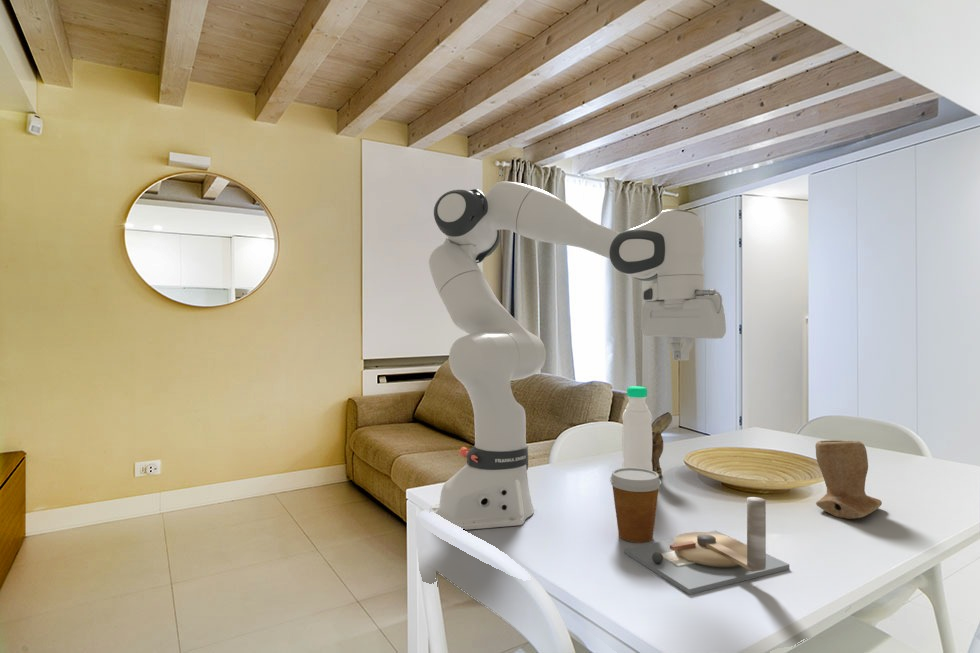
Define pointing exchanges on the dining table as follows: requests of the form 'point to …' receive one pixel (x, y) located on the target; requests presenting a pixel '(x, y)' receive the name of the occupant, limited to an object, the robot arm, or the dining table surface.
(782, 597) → the dining table surface
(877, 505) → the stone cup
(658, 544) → the base board
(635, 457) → the water bottle
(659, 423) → the stone sculpture
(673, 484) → the dining table surface
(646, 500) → the disposable coffee cup
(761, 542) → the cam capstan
